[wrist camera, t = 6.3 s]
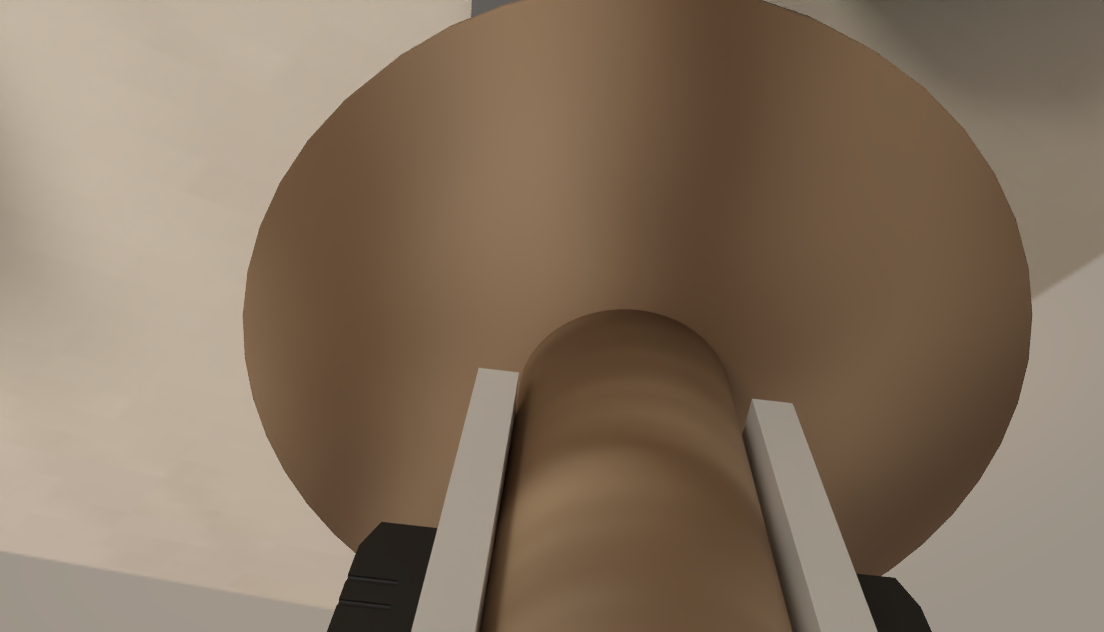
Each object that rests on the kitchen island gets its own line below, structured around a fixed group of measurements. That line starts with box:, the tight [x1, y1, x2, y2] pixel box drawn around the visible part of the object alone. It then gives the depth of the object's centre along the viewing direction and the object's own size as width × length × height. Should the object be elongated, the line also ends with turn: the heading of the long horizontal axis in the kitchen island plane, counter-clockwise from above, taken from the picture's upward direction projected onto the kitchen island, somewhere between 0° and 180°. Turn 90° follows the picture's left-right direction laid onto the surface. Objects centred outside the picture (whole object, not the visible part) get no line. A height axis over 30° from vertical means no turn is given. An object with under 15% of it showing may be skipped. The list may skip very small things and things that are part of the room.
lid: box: [243, 0, 1032, 632], centre depth 12 cm, size 16×16×10 cm
